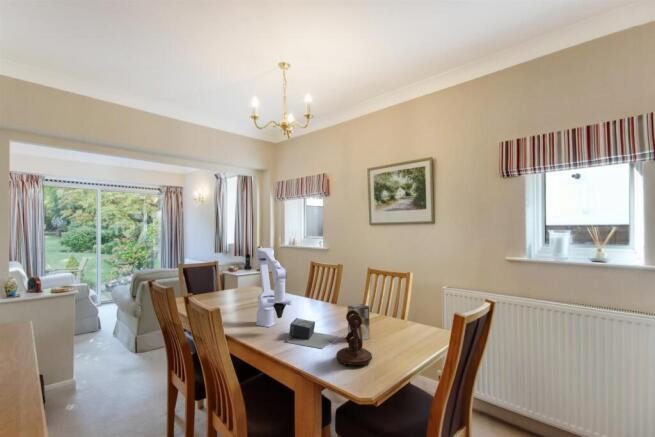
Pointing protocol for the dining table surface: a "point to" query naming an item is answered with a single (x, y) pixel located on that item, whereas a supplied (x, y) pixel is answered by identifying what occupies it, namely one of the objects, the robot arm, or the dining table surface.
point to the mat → (313, 340)
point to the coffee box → (364, 315)
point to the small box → (302, 328)
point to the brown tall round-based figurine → (354, 343)
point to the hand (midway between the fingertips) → (279, 317)
